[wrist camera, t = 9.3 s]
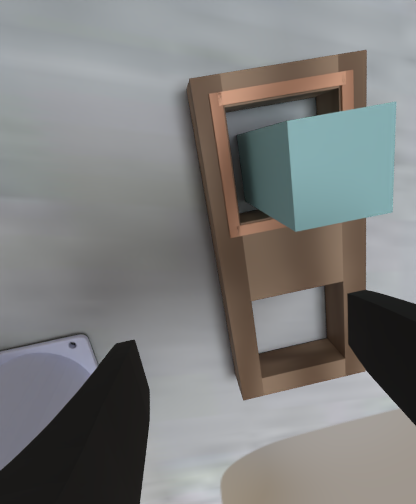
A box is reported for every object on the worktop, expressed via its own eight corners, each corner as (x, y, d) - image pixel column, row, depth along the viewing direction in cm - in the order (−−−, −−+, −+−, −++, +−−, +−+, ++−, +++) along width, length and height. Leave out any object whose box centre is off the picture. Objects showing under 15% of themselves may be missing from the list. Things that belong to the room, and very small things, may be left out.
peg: (245, 201, 19) (295, 231, 12) (236, 135, 18) (287, 120, 10) (305, 189, 19) (392, 212, 12) (301, 123, 18) (396, 101, 11)
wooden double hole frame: (235, 375, 23) (243, 401, 21) (186, 89, 17) (189, 77, 14) (345, 349, 24) (366, 372, 21) (339, 64, 17) (368, 48, 15)
